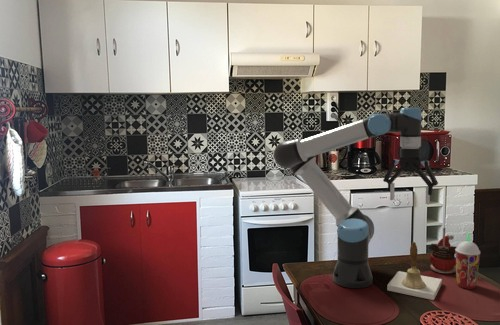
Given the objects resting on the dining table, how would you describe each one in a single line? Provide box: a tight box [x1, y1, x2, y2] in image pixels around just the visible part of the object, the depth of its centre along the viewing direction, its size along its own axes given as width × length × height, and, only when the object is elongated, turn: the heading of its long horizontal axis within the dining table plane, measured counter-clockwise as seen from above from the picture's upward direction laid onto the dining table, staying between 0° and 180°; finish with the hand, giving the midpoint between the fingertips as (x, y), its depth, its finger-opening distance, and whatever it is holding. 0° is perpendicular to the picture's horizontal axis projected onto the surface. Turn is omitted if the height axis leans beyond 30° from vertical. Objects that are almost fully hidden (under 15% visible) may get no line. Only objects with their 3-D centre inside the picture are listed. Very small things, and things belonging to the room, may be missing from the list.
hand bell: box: [402, 241, 426, 289], centre depth 154 cm, size 8×8×16 cm
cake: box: [428, 227, 457, 274], centre depth 172 cm, size 11×9×18 cm
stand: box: [386, 270, 443, 301], centre depth 157 cm, size 16×16×2 cm
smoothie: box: [455, 233, 481, 290], centre depth 157 cm, size 8×8×20 cm
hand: (409, 201), depth 166 cm, fingers open, 13 cm apart
